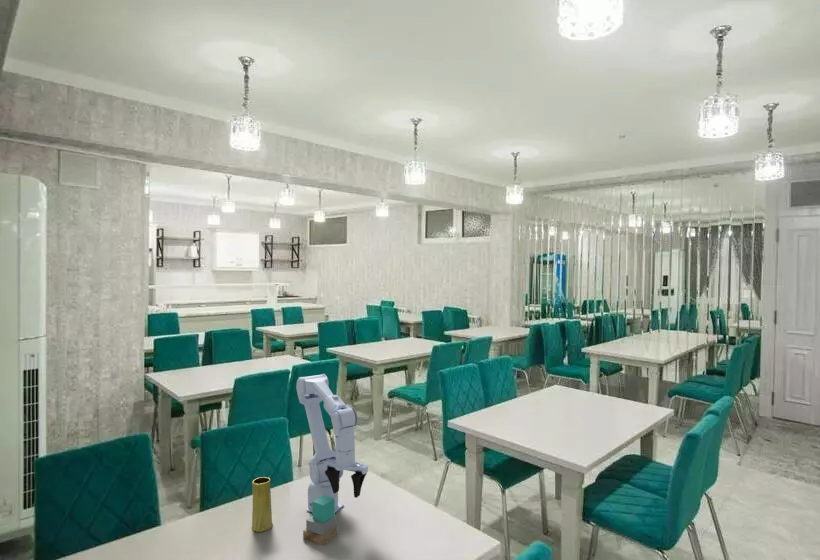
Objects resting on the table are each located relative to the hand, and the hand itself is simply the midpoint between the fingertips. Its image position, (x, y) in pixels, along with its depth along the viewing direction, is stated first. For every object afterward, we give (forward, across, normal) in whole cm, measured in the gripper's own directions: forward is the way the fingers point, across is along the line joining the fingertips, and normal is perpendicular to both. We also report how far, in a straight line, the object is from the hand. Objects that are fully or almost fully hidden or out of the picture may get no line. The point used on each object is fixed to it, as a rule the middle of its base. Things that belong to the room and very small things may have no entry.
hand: (346, 494), depth 140 cm
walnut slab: (+11, -5, -7) cm, 14 cm away
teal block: (+5, -4, -6) cm, 9 cm away
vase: (+10, -24, -10) cm, 28 cm away
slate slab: (+8, -5, -7) cm, 11 cm away
